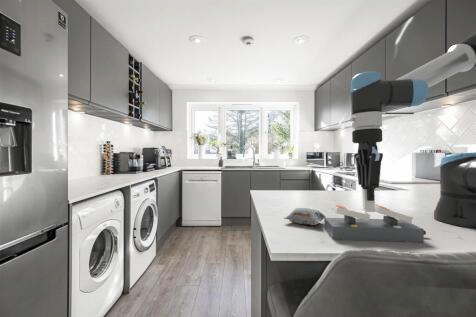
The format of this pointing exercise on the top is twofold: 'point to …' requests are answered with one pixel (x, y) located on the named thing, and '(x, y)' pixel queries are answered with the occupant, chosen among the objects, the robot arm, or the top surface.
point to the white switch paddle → (350, 212)
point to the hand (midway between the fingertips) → (368, 211)
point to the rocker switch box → (373, 229)
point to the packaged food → (305, 216)
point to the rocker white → (393, 213)
